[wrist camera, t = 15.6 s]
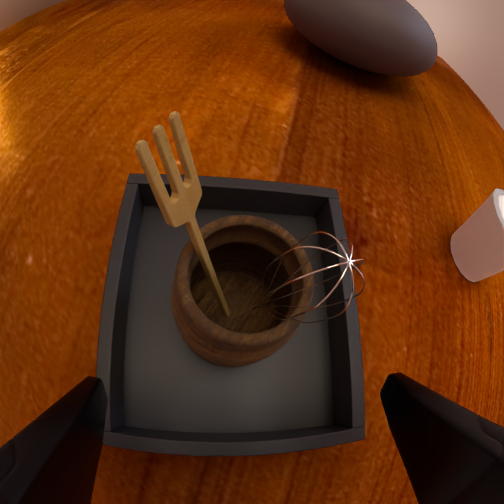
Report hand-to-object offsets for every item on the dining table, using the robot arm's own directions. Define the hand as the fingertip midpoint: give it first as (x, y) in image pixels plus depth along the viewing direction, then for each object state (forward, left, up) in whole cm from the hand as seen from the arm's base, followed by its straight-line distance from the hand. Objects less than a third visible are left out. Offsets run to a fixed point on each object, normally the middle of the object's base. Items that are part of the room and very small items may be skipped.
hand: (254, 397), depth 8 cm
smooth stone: (+48, +2, -9) cm, 49 cm away
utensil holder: (+4, +2, -8) cm, 9 cm away
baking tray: (+4, +2, -8) cm, 10 cm away
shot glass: (+18, -17, -9) cm, 26 cm away
